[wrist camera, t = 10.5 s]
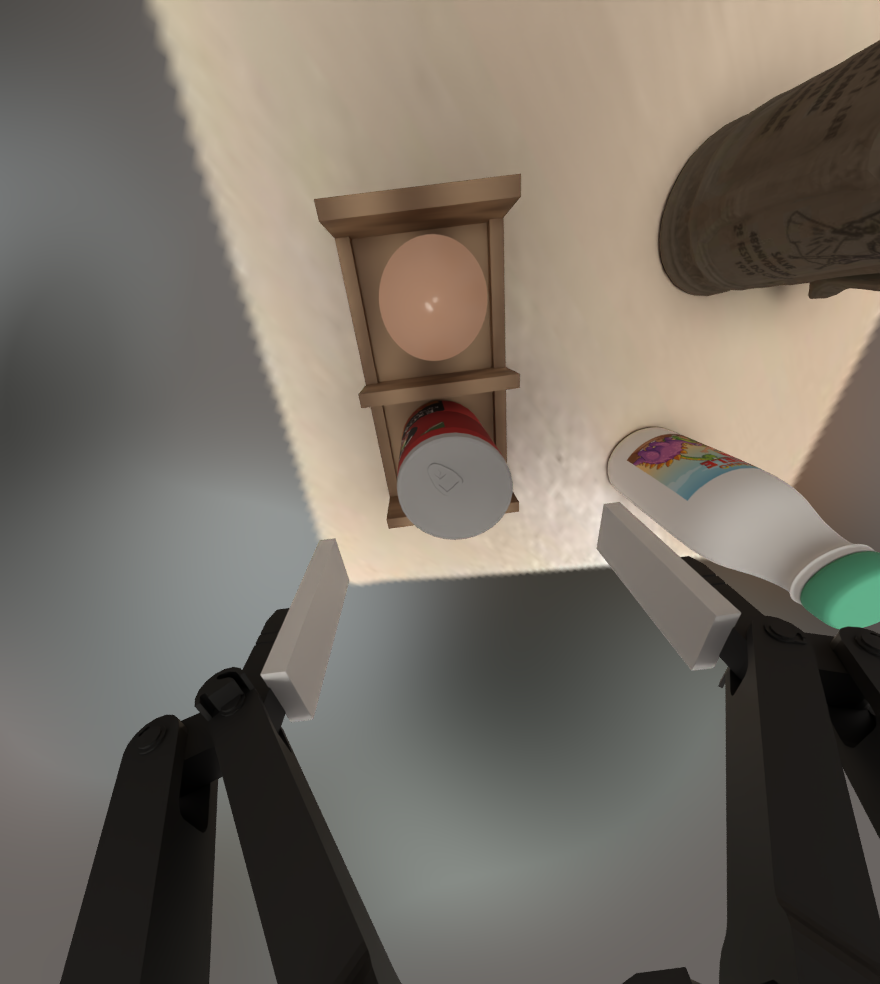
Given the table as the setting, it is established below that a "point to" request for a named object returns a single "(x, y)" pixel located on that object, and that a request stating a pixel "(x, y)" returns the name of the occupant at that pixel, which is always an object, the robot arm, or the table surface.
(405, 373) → the rack
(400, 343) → the peach rounded block
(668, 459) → the milk bottle
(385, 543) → the table surface
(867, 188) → the beer stein
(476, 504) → the canned food
